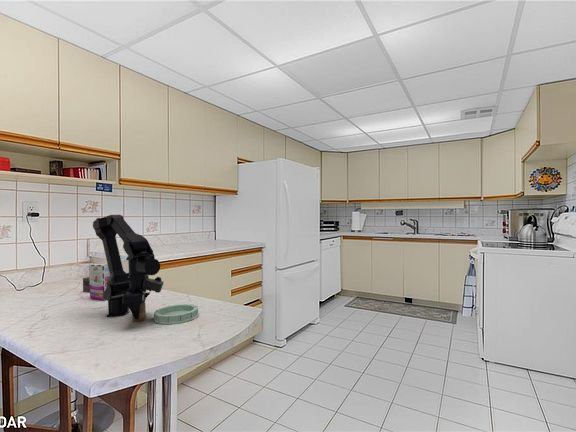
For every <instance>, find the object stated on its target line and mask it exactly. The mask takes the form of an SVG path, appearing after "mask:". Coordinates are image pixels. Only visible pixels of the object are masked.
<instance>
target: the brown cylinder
mask: <svg viewBox="0 0 576 432" xmlns="http://www.w3.org/2000/svg"><path fill="white" fill-rule="evenodd" d="M146 307H147V306H146V302H145V303H144V302H142V303H141V307H140V314H139V319H135V318H134V316H133V314H132V313H131V315H132V323H136V324H137V323H142V322H146V320H147V316H146V315H147V310H146Z"/></svg>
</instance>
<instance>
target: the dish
mask: <svg viewBox="0 0 576 432" xmlns="http://www.w3.org/2000/svg"><path fill="white" fill-rule="evenodd" d="M198 316H199V306H198V305H195V304H191V303H190V304H189V303H181V304H179V303H178V304H172V305H168V306H164V307H161V308H158V309H156V310H154V313H153V320H154V323H156V324H159V325H177V324H183V323H186V322H187V323H188V322H190V321H193V320H195V319H196V318H198Z"/></svg>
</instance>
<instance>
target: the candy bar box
mask: <svg viewBox="0 0 576 432" xmlns="http://www.w3.org/2000/svg"><path fill="white" fill-rule="evenodd" d="M88 268H89V269H88V270H89V272H88V273H89V276H88V277H90V292H89V299H90V300H94V301H95V300H96V301H104V302H105V301H106V300H104V296H103V294H104V291H105V289H106V287H107V280H108V278H109V276H110V273H109V269H108V264H107V263H91V264H89V265H88Z"/></svg>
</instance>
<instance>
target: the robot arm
mask: <svg viewBox="0 0 576 432" xmlns="http://www.w3.org/2000/svg"><path fill="white" fill-rule="evenodd" d="M92 228H93V230H94V233H95V235H96V237H98V238H99V239H100V240H101V242H102V245H103V251H104V254H105V259H106V264H108V269H109V273H110V276H109V278H108V280H107V287H106V289H105V291H104V294H103V296H104V300H105V301H107V308H108V309H107V311H108V313H107V315H106V317H108V318H109V317H116V316H125V315H127V314H128V313H129V312H130V313H131V315H132V314H133V316H134V318H135V319H139V314H140V307H141V303H142V302H144V303H145V304H146V299H147V297H148V296H149V295H150V294H151V292H152V291H153V292H155V293H158V294H159V293H161V291H162V290H163V286H164V283H165V282H164V281H163V280H162V277H160V276H156V277H155V278H150V277H149V276H155V275H156V274H158V273H159V272H160V270H161V263H160V262H159V260H158V259H156V258H155V257H156V256H155V254H154V250H153V249H152V247H151V245H150V242H149V241H148V239H147V238H145V236H143V235H142V234H139V233H137V232H135V230H133V228H132V227H131V226H130V225H129V223H128V222H127V221H126V220H125V219H124V216H123V215H121V214H109V215H107V216H104V217H103V216H102V217H96V219H95V220H93V222H92ZM117 235H118V236H119V238H120V239H121V240H122V242H123V245H122V248H123V250H124V252H125V254H126V255H127V256H126V261H128V272H126V271H124V267H123V263H122V257H121V255H120V250H119V246H118V242H117ZM147 291H148V292H147Z"/></svg>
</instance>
